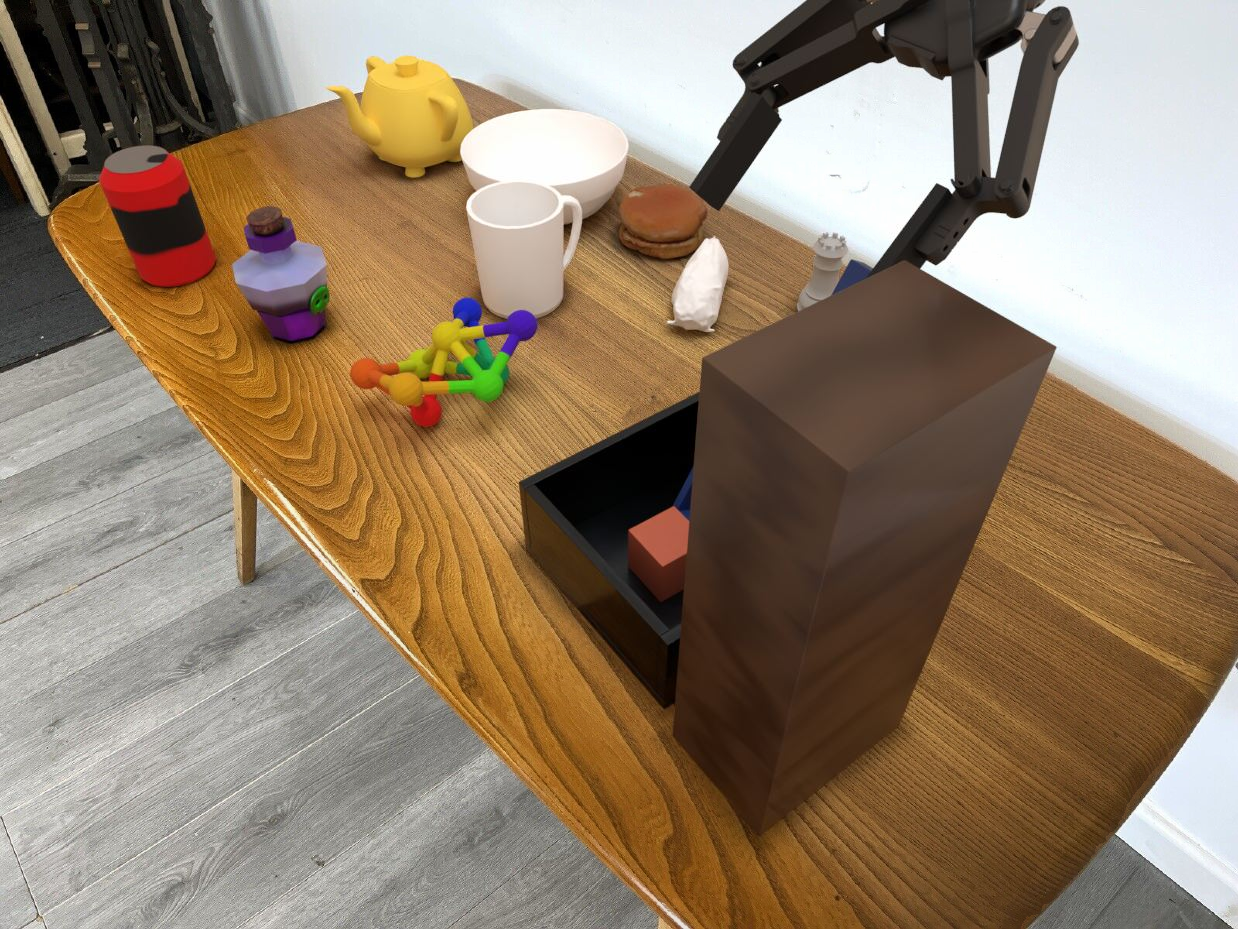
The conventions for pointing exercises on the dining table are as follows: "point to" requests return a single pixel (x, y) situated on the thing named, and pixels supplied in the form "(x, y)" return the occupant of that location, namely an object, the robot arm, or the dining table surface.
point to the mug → (521, 245)
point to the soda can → (157, 215)
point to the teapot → (409, 113)
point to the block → (660, 552)
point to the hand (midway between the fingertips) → (780, 248)
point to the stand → (836, 523)
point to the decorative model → (449, 362)
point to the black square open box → (616, 536)
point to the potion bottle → (283, 277)
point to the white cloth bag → (701, 288)
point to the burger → (662, 221)
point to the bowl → (549, 154)
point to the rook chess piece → (824, 269)
